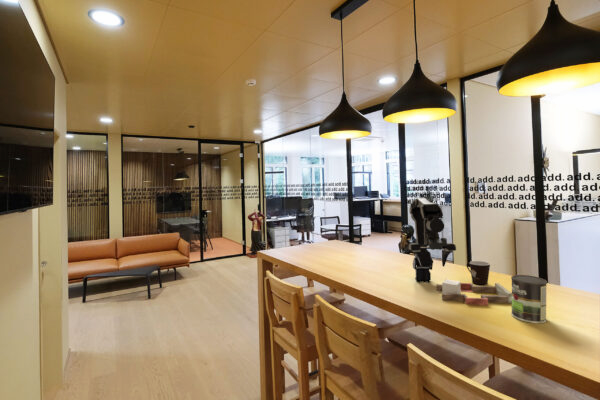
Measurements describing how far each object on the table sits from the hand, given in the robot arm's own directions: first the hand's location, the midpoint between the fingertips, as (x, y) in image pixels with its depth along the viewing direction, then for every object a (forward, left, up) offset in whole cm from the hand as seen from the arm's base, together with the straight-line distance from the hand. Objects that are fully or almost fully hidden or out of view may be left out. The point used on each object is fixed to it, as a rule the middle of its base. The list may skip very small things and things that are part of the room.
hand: (432, 266), depth 136 cm
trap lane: (+16, 0, -13) cm, 20 cm away
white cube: (+8, 0, -13) cm, 15 cm away
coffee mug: (+25, +20, -13) cm, 35 cm away
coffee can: (+29, -20, -13) cm, 37 cm away
